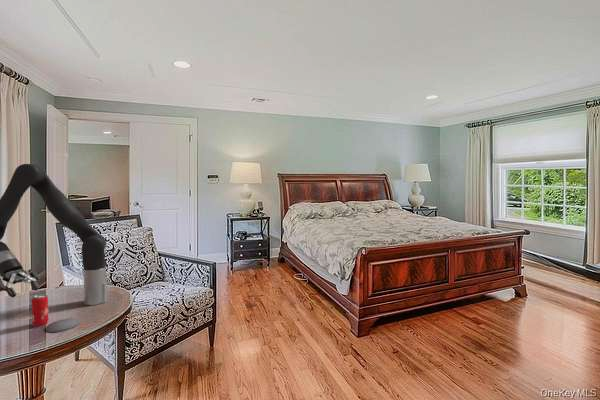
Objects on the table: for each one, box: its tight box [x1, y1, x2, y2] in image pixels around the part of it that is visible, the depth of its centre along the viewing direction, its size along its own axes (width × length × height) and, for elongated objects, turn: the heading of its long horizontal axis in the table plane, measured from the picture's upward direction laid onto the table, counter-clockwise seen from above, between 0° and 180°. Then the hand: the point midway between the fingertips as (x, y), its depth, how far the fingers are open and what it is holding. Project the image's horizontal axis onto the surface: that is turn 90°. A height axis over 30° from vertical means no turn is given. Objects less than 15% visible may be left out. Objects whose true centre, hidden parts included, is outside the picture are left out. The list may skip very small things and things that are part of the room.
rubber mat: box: [45, 318, 80, 333], centre depth 129 cm, size 11×11×1 cm
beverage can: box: [31, 294, 49, 328], centre depth 129 cm, size 5×5×12 cm
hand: (26, 292), depth 131 cm, fingers open, 8 cm apart
